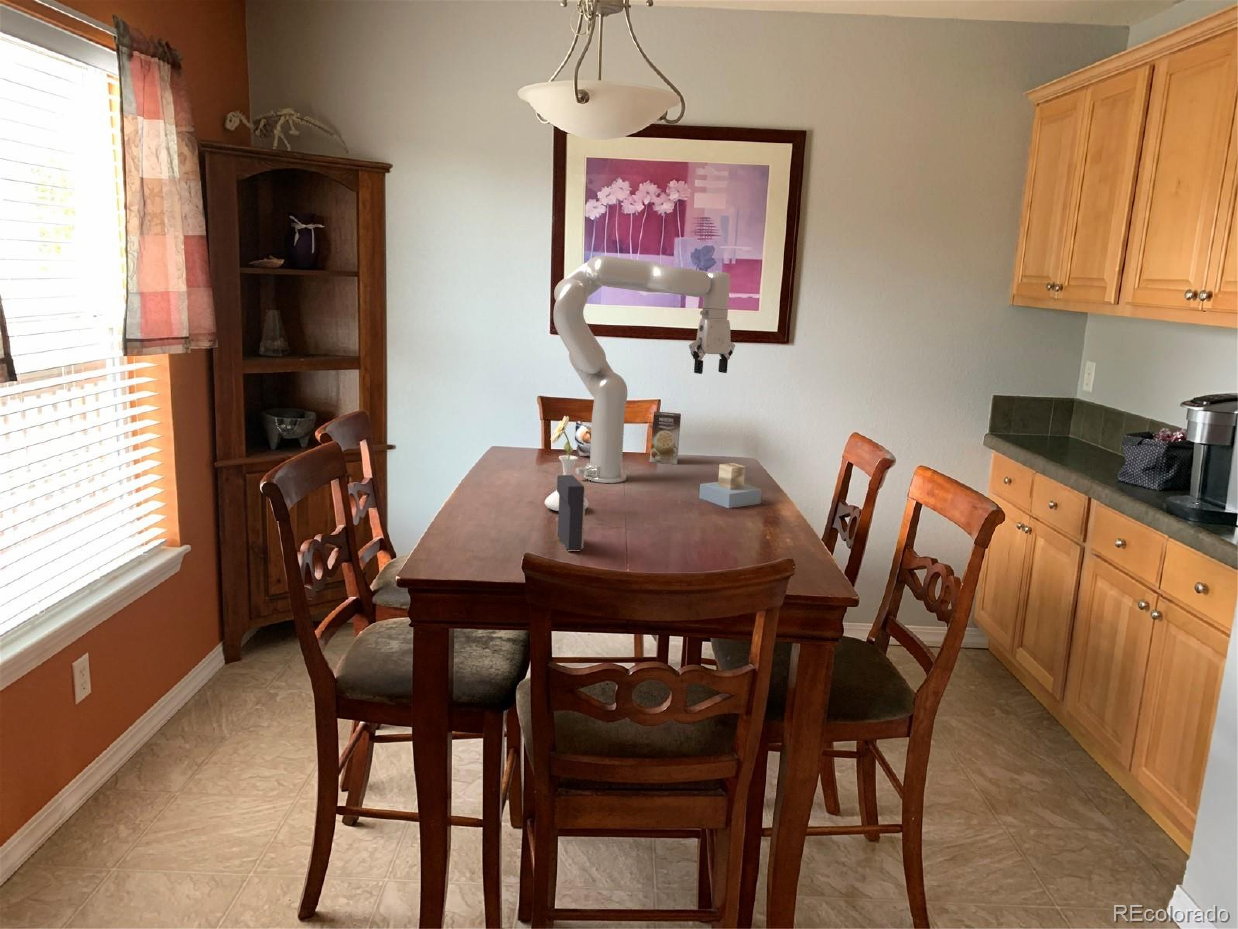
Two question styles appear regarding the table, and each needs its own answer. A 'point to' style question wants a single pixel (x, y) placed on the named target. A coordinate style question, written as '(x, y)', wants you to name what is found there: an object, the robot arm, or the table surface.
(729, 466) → the birch block
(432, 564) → the table surface
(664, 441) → the coffee box
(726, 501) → the base block
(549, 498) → the flower in vase
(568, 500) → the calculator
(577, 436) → the lucky cat figurine
